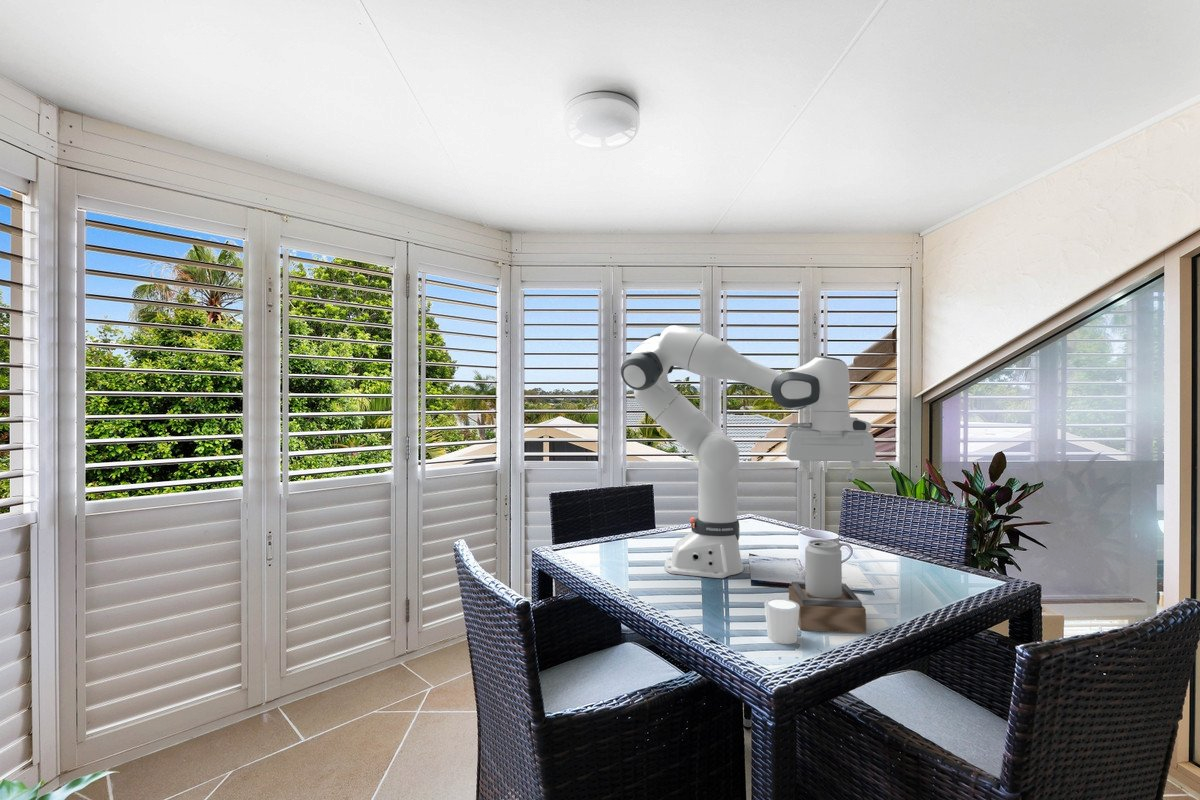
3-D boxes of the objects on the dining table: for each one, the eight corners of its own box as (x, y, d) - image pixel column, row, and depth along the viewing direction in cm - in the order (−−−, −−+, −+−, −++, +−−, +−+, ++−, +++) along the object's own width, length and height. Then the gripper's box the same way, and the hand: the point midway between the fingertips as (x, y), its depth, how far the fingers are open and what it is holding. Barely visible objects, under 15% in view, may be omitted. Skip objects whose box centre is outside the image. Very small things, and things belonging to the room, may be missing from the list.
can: (816, 588, 128) (816, 536, 128) (848, 597, 122) (848, 542, 122) (798, 595, 123) (798, 541, 123) (831, 605, 118) (830, 548, 118)
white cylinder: (759, 631, 117) (759, 598, 117) (791, 630, 117) (790, 597, 117) (772, 646, 110) (772, 610, 110) (806, 644, 110) (805, 609, 110)
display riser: (800, 629, 117) (800, 600, 117) (789, 607, 130) (788, 580, 130) (865, 633, 115) (865, 603, 115) (847, 609, 128) (847, 582, 128)
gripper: (787, 423, 134) (787, 480, 134) (878, 424, 131) (878, 482, 131) (783, 422, 141) (783, 476, 141) (869, 422, 137) (869, 478, 137)
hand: (829, 479), depth 136 cm, fingers open, 8 cm apart
